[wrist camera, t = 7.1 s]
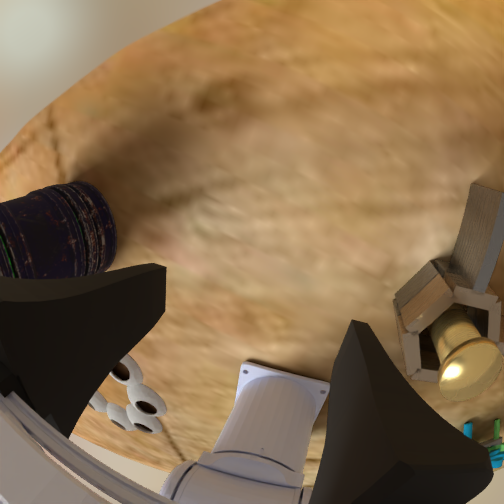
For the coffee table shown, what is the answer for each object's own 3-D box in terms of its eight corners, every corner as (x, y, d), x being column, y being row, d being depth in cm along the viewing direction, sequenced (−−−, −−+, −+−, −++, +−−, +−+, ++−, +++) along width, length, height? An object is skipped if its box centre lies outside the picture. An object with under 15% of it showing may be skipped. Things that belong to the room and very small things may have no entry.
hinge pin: (448, 333, 19) (477, 403, 11) (407, 323, 20) (427, 398, 12) (469, 288, 17) (514, 350, 10) (427, 276, 18) (464, 340, 11)
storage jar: (51, 245, 28) (-53, 295, 15) (63, 165, 24) (-67, 196, 11) (108, 293, 27) (-4, 373, 14) (129, 207, 23) (-30, 269, 10)
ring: (150, 342, 28) (139, 352, 26) (182, 447, 34) (176, 456, 33) (45, 308, 34) (35, 314, 32) (85, 405, 40) (79, 412, 38)
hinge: (500, 357, 18) (516, 389, 14) (378, 336, 21) (382, 374, 16) (555, 221, 13) (587, 237, 9) (429, 168, 16) (453, 173, 12)
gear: (409, 473, 23) (444, 495, 14) (413, 429, 25) (451, 438, 17) (482, 452, 21) (527, 459, 12) (485, 411, 24) (532, 408, 15)
